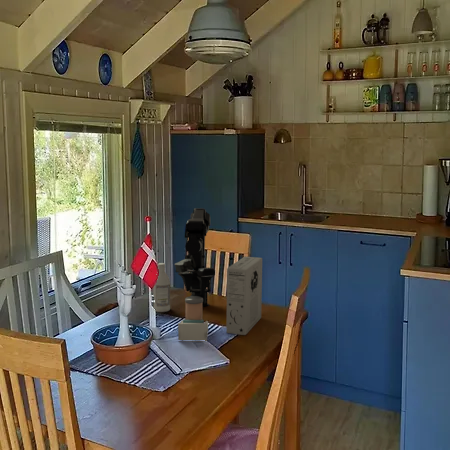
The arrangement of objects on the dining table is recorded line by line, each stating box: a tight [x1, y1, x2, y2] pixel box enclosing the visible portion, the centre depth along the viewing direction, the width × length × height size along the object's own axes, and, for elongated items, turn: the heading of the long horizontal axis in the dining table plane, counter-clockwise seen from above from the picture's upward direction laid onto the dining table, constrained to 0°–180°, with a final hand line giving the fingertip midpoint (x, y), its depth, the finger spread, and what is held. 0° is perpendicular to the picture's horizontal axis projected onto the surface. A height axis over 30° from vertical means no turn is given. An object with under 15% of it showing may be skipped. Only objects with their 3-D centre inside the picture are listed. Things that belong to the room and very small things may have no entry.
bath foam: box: [152, 262, 171, 313], centre depth 231 cm, size 7×7×20 cm
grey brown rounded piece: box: [184, 295, 203, 320], centre depth 203 cm, size 7×7×12 cm
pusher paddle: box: [182, 319, 205, 323], centre depth 200 cm, size 2×7×5 cm, turn 89°
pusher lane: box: [177, 320, 209, 342], centre depth 202 cm, size 12×10×6 cm
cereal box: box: [226, 256, 263, 336], centre depth 212 cm, size 22×8×25 cm, turn 160°
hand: (194, 292), depth 215 cm, fingers open, 9 cm apart
